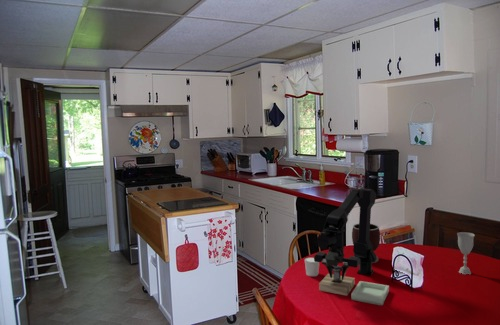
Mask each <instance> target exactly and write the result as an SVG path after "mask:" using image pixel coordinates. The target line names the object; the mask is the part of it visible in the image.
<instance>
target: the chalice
mask: <svg viewBox="0 0 500 325" xmlns="http://www.w3.org/2000/svg"><path fill="white" fill-rule="evenodd" d="M456 235H457V245H458V248H459V250H460V252H461V254H463V261H462V262H463V266H461V267H460V269H459V271H458V273H459V274H461V273H462V275H466V274H469V275H471V274H472V272H471V270H470V268H469V267H468V266H467V263H468V261H467V260H468V257H467V256H468V255H469V254H470V253H471V251H472V249H473V247H474V238H475V234H474V233H473V232H464V231H463V232H462V231H461V232H457V233H456Z"/></svg>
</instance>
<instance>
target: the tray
mask: <svg viewBox="0 0 500 325" xmlns="http://www.w3.org/2000/svg"><path fill="white" fill-rule="evenodd" d="M389 291H390V285H387V284H382V283H381V284H380V283H374V282H370V281H369V282H368V281H362V280H360V281H358V283H357V284H356V286H355V288H354V289H353V290H352V292H351V293H350V294H351V295H350V297H351V298H350V299H351V300H352V301H357V302H361V303H367V304H372V305H377V306H383V305H384V303H385V301H386V299H387V296H388V295H389Z"/></svg>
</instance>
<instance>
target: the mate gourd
mask: <svg viewBox="0 0 500 325" xmlns="http://www.w3.org/2000/svg"><path fill="white" fill-rule="evenodd" d="M358 235H359V223H355V224H353V225H352V231H351V241H352V244H353V246H354V242H356V241H357V240H358ZM369 240H370V242H371V243H372V246H373V252H375V251H376V250H377V249H379V246H380V242H381V232H380V227H379V225H377V224H374V223H370V236H369ZM378 262H379V257H378V256H377V257H376V261H375V262H372V264H373V263H374V264H375V263H378Z"/></svg>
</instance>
